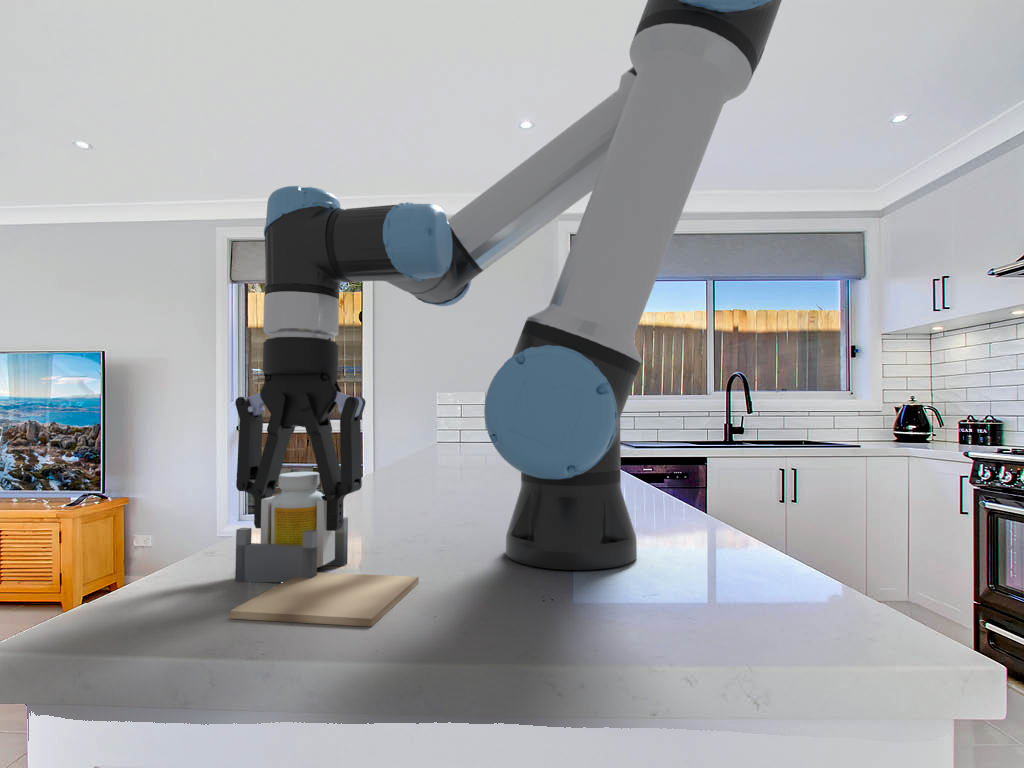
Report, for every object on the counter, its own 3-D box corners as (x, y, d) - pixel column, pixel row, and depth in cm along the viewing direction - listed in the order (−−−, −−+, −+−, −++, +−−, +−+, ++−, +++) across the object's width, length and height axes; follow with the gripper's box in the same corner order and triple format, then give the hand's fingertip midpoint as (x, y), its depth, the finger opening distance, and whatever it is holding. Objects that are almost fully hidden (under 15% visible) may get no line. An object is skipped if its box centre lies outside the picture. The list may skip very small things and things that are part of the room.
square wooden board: (418, 583, 59) (418, 576, 59) (371, 626, 47) (371, 618, 47) (302, 577, 60) (302, 571, 60) (229, 618, 49) (229, 610, 49)
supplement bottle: (264, 565, 63) (264, 473, 64) (314, 556, 67) (314, 469, 67) (280, 576, 59) (281, 478, 59) (333, 567, 62) (333, 473, 63)
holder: (347, 563, 66) (347, 517, 66) (311, 584, 58) (312, 532, 58) (279, 560, 67) (280, 515, 68) (235, 580, 59) (236, 529, 60)
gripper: (397, 341, 66) (395, 555, 65) (242, 344, 69) (238, 549, 68) (371, 332, 59) (368, 574, 58) (198, 335, 61) (193, 566, 60)
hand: (297, 560), depth 63 cm, fingers closed on supplement bottle, 5 cm apart
